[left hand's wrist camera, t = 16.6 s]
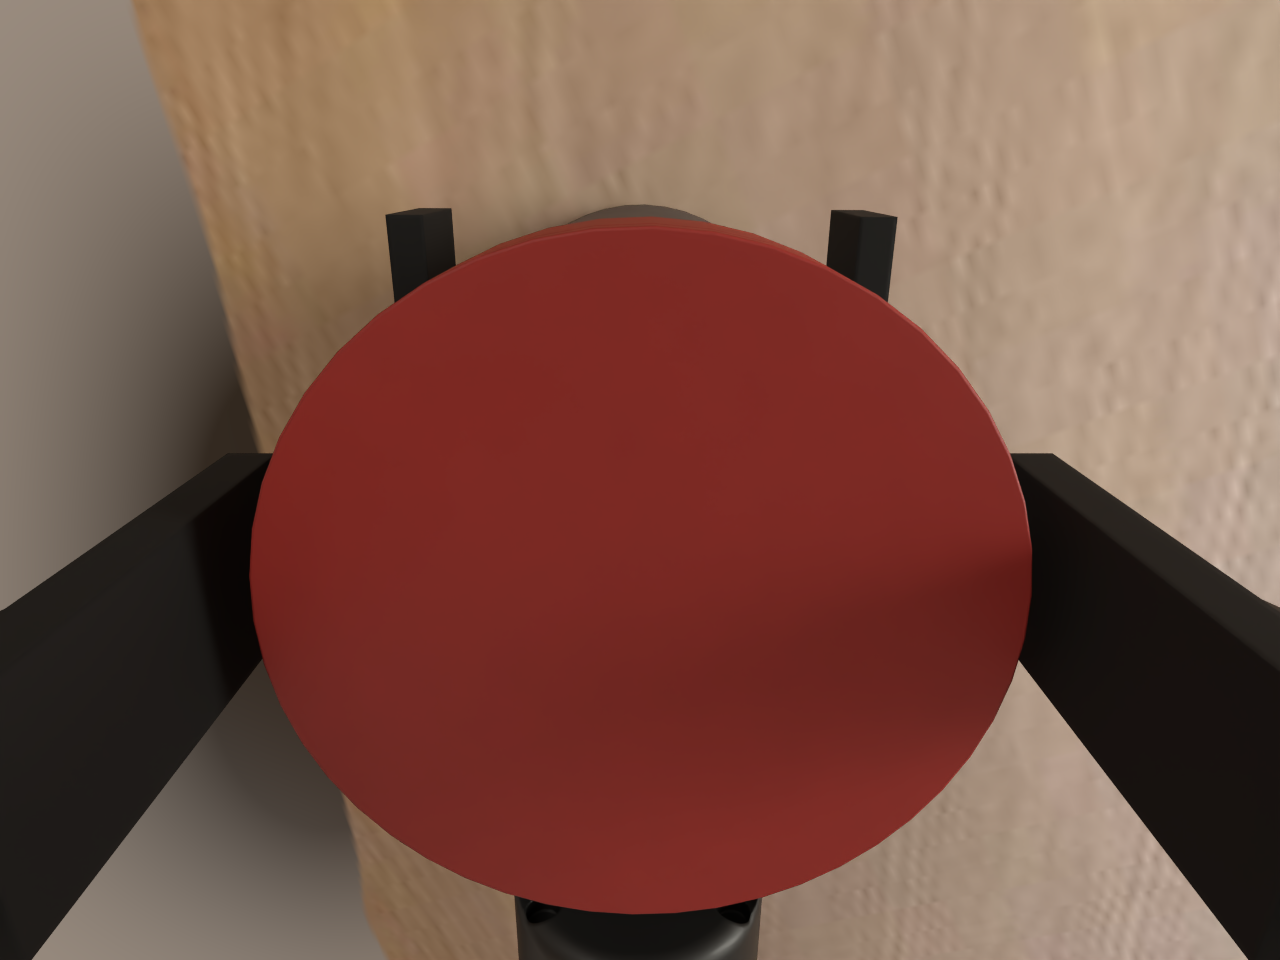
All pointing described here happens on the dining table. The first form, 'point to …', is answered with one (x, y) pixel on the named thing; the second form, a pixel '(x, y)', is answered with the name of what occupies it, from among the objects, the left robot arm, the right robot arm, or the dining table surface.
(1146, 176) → the dining table surface
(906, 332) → the lid
